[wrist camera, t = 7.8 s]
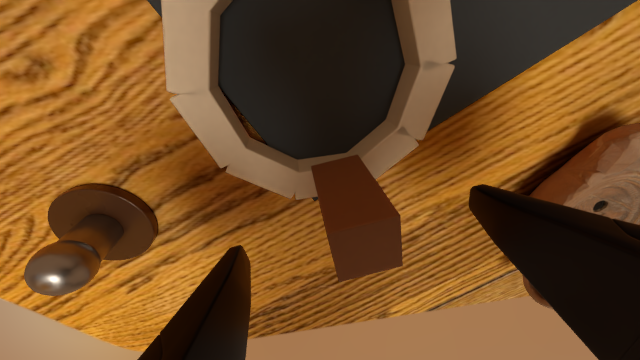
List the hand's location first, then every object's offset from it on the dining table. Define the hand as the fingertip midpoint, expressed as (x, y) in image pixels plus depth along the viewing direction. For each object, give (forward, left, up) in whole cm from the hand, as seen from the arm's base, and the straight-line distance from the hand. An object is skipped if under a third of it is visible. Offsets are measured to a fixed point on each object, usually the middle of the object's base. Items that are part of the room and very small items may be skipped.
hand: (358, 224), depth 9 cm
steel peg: (-9, +10, -6) cm, 14 cm away
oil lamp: (+5, -16, -6) cm, 18 cm away
